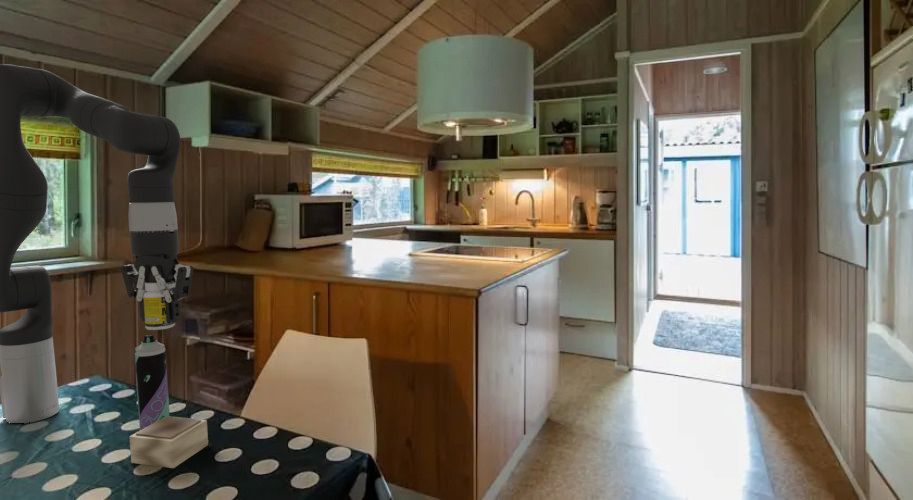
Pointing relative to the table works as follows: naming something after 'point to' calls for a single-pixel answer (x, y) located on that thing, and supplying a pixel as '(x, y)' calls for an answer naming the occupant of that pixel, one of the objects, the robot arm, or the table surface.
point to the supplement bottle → (155, 308)
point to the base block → (168, 441)
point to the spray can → (151, 381)
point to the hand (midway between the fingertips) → (160, 320)
